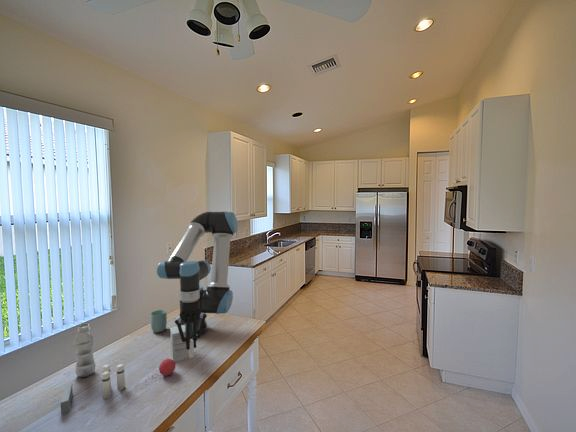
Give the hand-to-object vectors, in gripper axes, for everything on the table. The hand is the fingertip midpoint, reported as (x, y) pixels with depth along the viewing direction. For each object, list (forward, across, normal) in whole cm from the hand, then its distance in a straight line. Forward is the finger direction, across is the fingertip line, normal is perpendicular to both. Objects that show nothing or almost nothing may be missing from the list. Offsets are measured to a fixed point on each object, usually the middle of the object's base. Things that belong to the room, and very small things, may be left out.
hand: (191, 356), depth 119 cm
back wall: (+5, -41, 0) cm, 42 cm away
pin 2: (+5, -30, -2) cm, 30 cm away
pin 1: (+5, -30, +3) cm, 30 cm away
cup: (+5, -7, +43) cm, 44 cm away
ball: (+2, -9, 0) cm, 9 cm away
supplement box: (+5, -2, +11) cm, 13 cm away
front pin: (+5, -25, 0) cm, 26 cm away
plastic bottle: (+5, -37, +17) cm, 41 cm away
